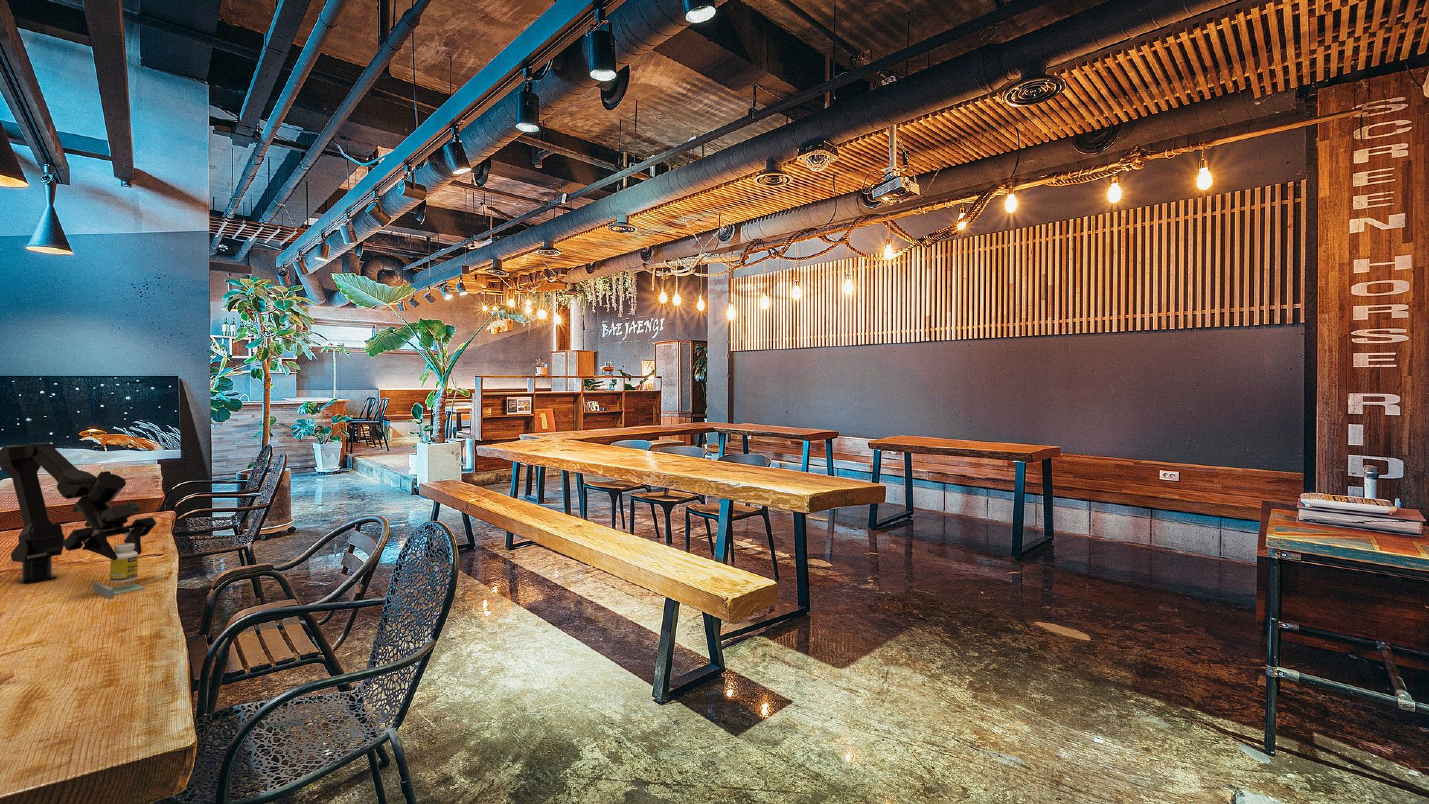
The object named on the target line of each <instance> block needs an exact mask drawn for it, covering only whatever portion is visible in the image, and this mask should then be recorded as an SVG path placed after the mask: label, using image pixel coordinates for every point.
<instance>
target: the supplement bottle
mask: <svg viewBox="0 0 1429 804" xmlns="http://www.w3.org/2000/svg"><path fill="white" fill-rule="evenodd" d="M133 549H135V544H134V543H125V542H124V543H120V544H119V543H118V544H116V545H114V551H115V553H116V555H117V559H116V560H112V559H110V566H109V567H110V571H109V573H110V574H109V575H110V576H109V581H110V583H114V584H115V583H116V584H117V583H118V584H119V583H127V582H132V581H135V580H136V579H137V578H138V566H139V555H138V553H137V552H136V551H134V550H133Z"/></svg>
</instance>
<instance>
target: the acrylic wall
mask: <svg viewBox="0 0 1429 804" xmlns="http://www.w3.org/2000/svg"><path fill="white" fill-rule="evenodd" d="M112 588H113V587H111V586H108V585H105V584H103V583H101V582H98V581H94V582H93V581H92V592H93V591H94V592H93V593H95V594H97V595H99V594H100V595H99V596H101V597H103V598H106V597H107V598H106V599H107V600H112V599H113V598H114V599H115V595H114V589H112ZM114 599H113V600H114Z"/></svg>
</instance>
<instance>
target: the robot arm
mask: <svg viewBox="0 0 1429 804" xmlns="http://www.w3.org/2000/svg"><path fill="white" fill-rule="evenodd" d="M40 468H43V470H45V471H46V472H47V473H48V474H49V475H50V476H51V477H52V478H53V479H54V480H55V481H56V482H57V483H56V490H58V492H59V494H60V495H61V496H62V497H63V498H64V499H66V500H72V499H78V498H79V499H78V500H77V501H76V502H75V504H74V506H73V508H72V512H73V513H77V512H78V513H81V515H82V516H83V519H84V520H86V522H85V523H84V526H85V527H83V528H78V529H72V531H71V532H70V533H69V535H68V536H67V537H66V538H65V535H64V532H63V529H62V525H61V524H60V523H54V522H52V521H51V520H50V517H49V514H48V509H47V507H46V502H45V498H44V495H43V491H42V487H41V483H40V480H39V475H38V471H39V470H40ZM0 470H1V471H2V472H3V473H5V474H6V475H8V476H9V477H10V478H11V479H12V482H13V483H12V484H13V487H14V490H15V495H16V499H17V502H18V506H19V511H20V515H21V518H22V522H23V528H22V530H21V532H20V534H19V535H18V544H17V545H16V547H14V549H13V550H12V551H11V553H10V557H11V561H12V562H17V563H21V568H22V569H21V573H22V574H21V577H19V578H17V582H20V583H21V584H30V583H36V582H41V581H47V580H53V579H57V575H55V574H54V573H53V571H52V570H53V567H52V566H53V564H52V563H53V560H52V559H53V557H55V556H61V555H62V554H63V549H64V548H65V550H66V551H68V552H71V551H76V550H81V549H82V550H83V551H90V552H93V553H95V554H98V555H101V556H103V557H106V558H108V559H110V560H111V559H112V560H116V559H117V555H116V551H115V549H113V547H112V546H111V545H110V543H109V541H108V539H107V538H109V537H110V538H111V537H115V536H120V535H124V537H125V539H124V540H123V542H124V543H134V544H135V549H133V550H134V551H136V552H137V553H138V556H139V555H141V554H142V552H143V551H142V541H141V537H145V536H147V535H148V534H149V533H150V532H151V531H152V530H153V528H154V527H155V526H156V524H157V523H158V522H157V521H156V519H154V517H153V516H152V517H150V516H148V517H140V518H137V519H135V520H134V521H133V522H132V523H131V525H125V524H127V523H128V522H129V518H130V517H133V516H136V514H138V513H140V512H141V507H140V505H139V504H138V503H137V501H130V502H128V503H126V504H121V505H116V506H111V505H110V504H109V503H110V502H112V501H114V500H115V499H116V498H117V496H118V495H119V494H120V492H121V491H122V490H123V489H124V487H125V486H126V484H127V482H126V479H125V478H124V477H121V476H120V475H117V474H114V473H111V471H108V470H106V471H100V472H99V473H98V475H97V476H95V475H94V474H92V473H91V472H89V471H85V470H82V469H81V470H80V469H79V468H77V467H76V466H75V465H74V464H73V463H71V462H70V461H69V460H68V459H67V458H66V457H65V456H64V455H63V454H61V453H60V452H59V451H58V450H57V449H56V447H55V444H53V443H51V442H35V443H33V442H31V443H29V444H26V445H25V444H23V445H9V446H8V445H7V446H6V445H5V446H3V447H1V448H0Z"/></svg>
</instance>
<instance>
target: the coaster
mask: <svg viewBox="0 0 1429 804" xmlns="http://www.w3.org/2000/svg"><path fill="white" fill-rule="evenodd" d="M111 588H112V589H114V594H117V595H121V594H126V592H127V593H131V592H136V591H141V590H145V587H144V586H143V585H139V584H138V583H135V582H134V583H129V584H124V585H118V586H114V587H111ZM130 591H131V592H130Z"/></svg>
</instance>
